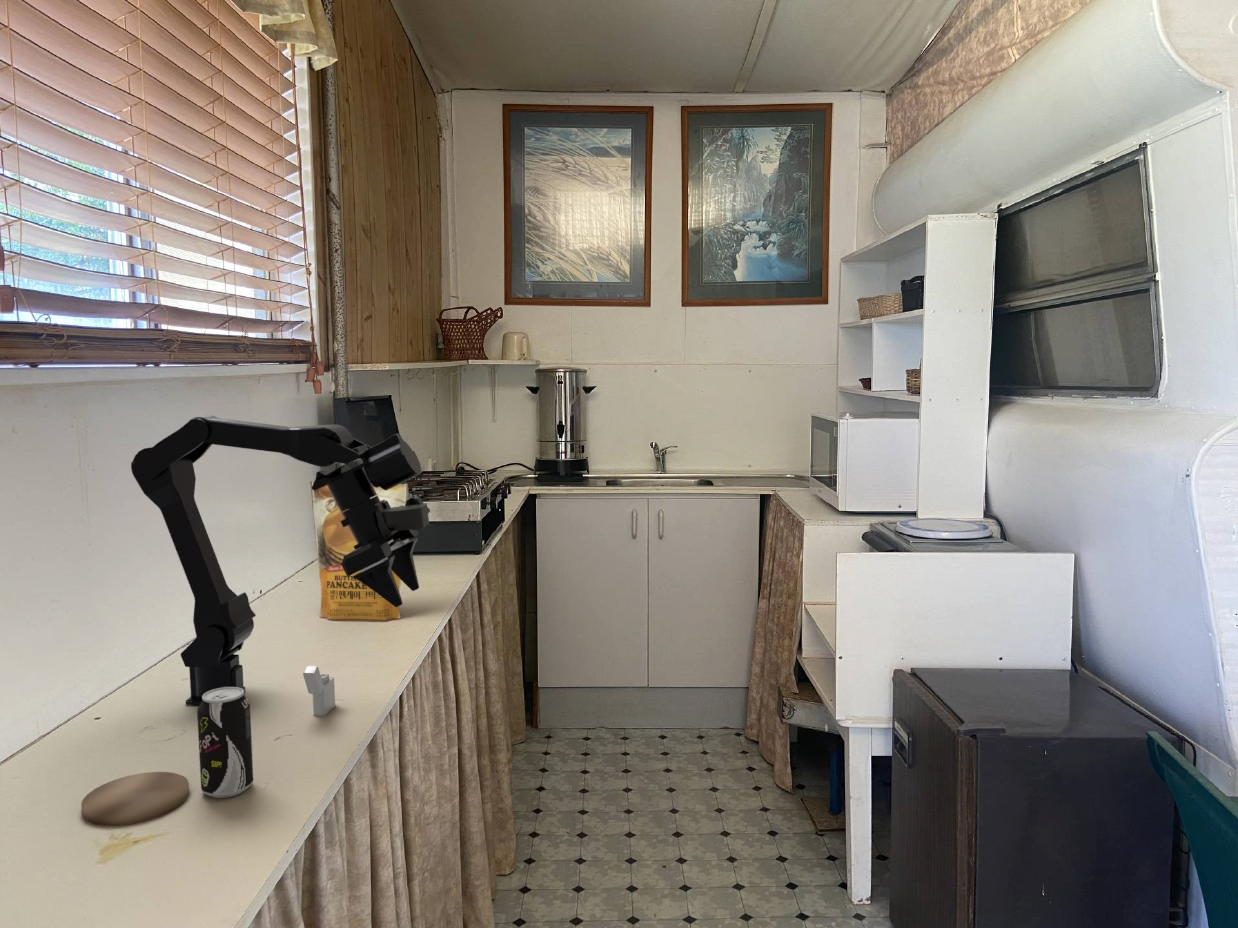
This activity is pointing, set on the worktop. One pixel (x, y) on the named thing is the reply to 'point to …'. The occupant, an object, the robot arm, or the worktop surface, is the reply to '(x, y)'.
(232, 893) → the worktop surface
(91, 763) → the worktop surface
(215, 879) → the worktop surface
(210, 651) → the robot arm
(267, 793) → the worktop surface
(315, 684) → the lighter
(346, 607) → the pancake mix bag
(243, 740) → the beverage can
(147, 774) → the bronze round coaster
